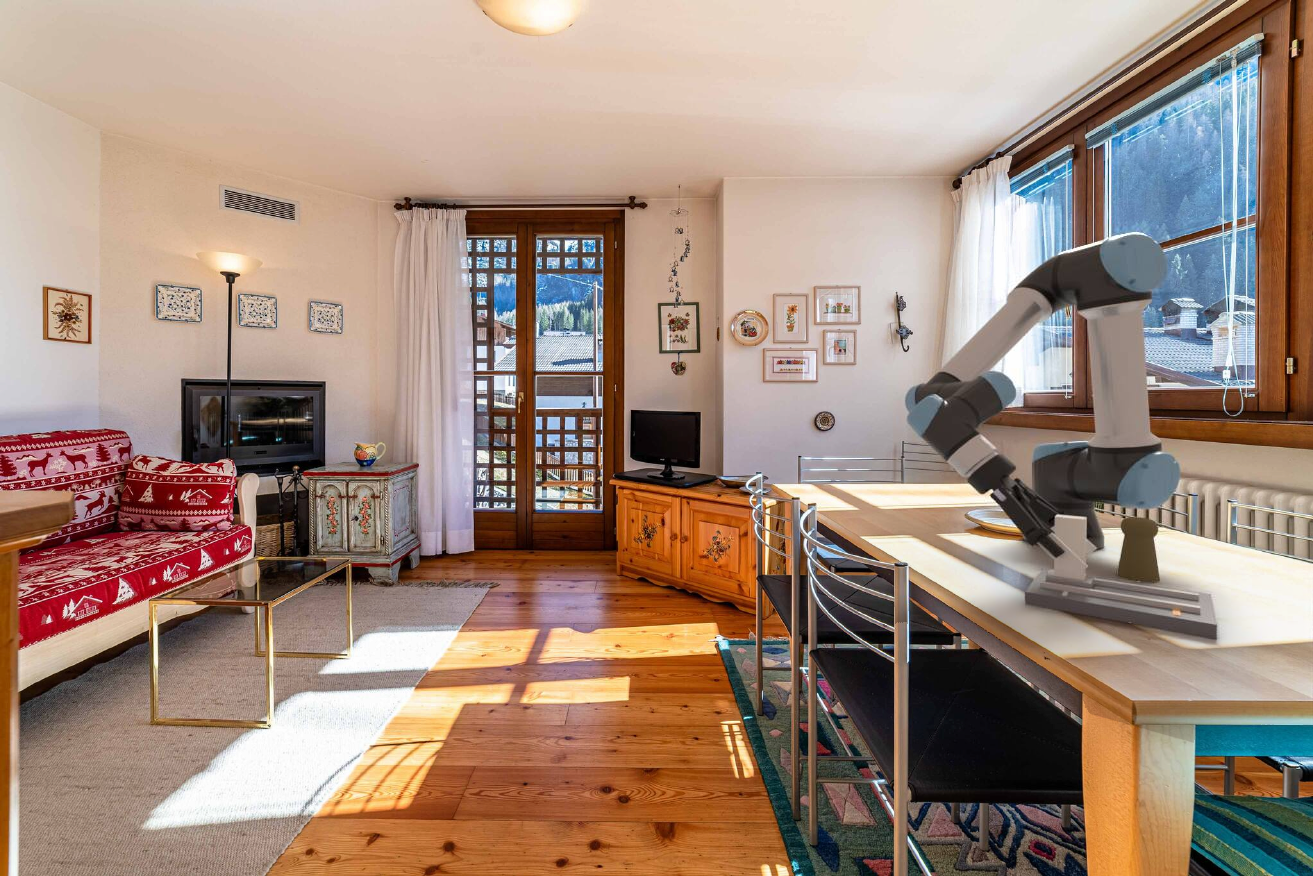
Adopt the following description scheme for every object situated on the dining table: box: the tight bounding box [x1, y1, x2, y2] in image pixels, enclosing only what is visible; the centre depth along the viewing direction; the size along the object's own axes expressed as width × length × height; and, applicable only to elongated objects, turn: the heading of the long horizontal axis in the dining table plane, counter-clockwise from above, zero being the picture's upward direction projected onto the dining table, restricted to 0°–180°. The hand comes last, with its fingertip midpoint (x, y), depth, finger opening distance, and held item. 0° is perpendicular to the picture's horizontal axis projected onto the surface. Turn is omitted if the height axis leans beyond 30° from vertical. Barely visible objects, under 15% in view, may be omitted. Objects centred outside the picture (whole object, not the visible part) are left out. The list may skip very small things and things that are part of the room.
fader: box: [1046, 515, 1095, 589], centre depth 93 cm, size 5×6×11 cm
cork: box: [1116, 516, 1161, 584], centre depth 102 cm, size 6×6×11 cm
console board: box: [1024, 568, 1218, 640], centre depth 89 cm, size 16×22×3 cm
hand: (1085, 562), depth 91 cm, fingers open, 13 cm apart
